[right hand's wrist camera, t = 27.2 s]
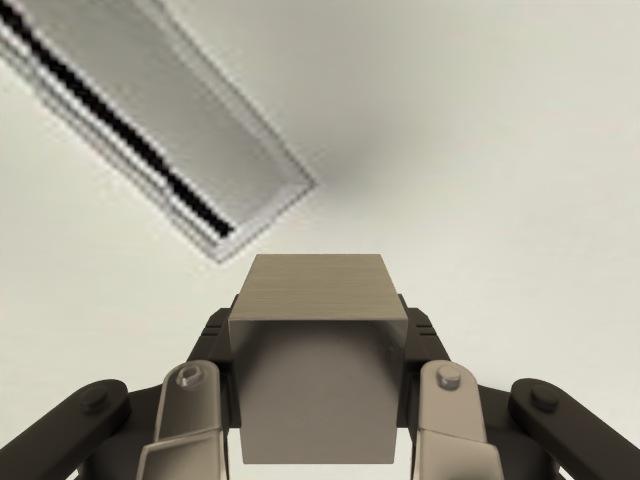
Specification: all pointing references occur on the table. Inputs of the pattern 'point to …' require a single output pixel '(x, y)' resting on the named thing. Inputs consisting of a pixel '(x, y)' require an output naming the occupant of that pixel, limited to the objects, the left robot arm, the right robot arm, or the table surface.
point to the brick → (318, 359)
